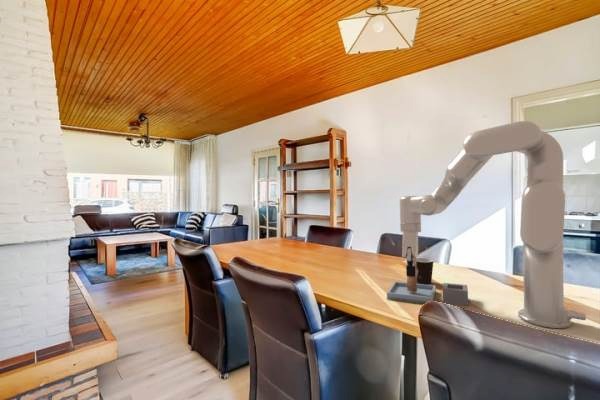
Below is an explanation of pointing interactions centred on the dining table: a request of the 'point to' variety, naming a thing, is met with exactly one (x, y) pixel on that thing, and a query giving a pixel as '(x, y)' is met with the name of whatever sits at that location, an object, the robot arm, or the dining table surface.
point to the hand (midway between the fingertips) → (411, 274)
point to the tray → (411, 293)
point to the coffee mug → (424, 270)
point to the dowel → (412, 280)
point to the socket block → (455, 293)
